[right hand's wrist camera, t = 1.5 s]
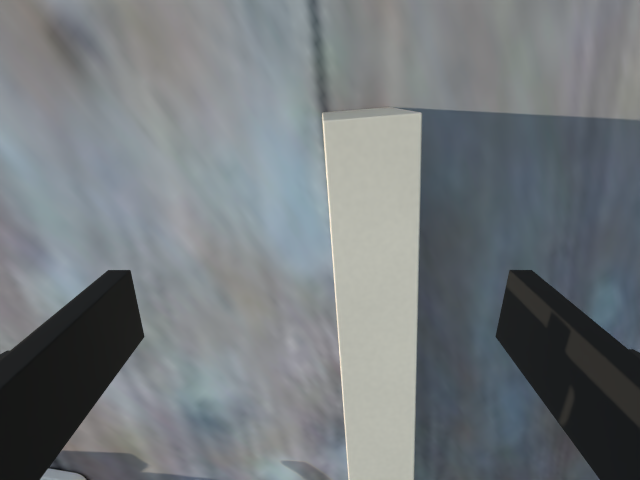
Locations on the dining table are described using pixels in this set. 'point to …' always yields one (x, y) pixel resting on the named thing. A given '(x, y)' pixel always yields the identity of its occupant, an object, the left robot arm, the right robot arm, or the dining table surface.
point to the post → (376, 281)
